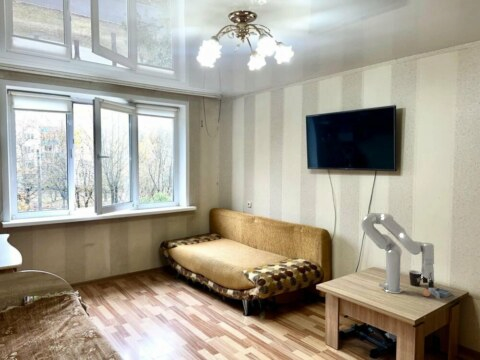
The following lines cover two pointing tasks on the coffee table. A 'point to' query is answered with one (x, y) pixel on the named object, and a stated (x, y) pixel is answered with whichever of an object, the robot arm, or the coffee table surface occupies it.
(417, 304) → the coffee table surface
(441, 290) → the dish
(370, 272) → the coffee table surface
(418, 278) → the coffee mug
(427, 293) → the ball
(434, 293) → the fence
